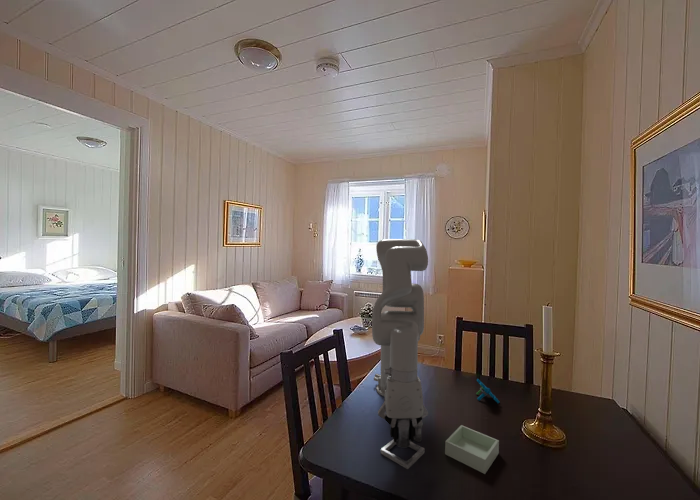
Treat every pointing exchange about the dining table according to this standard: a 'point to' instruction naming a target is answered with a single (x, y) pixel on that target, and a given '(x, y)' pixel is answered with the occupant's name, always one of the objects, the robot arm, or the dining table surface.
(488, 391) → the blue plastic angled piece
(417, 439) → the grey piece
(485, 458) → the bin
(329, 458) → the dining table surface
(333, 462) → the dining table surface
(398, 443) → the grey cylinder
